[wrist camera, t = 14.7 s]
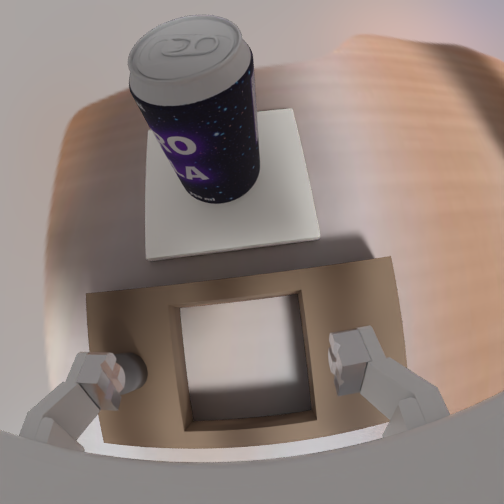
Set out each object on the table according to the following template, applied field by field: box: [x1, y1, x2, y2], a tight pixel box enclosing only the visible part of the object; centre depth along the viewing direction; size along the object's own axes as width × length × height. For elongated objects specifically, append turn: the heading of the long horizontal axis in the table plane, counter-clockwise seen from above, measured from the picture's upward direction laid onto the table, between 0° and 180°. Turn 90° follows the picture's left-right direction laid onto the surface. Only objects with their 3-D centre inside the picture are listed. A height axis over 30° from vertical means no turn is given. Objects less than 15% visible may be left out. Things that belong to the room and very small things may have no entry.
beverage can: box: [128, 15, 260, 204], centre depth 16 cm, size 6×6×12 cm
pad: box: [145, 108, 320, 261], centre depth 22 cm, size 12×11×1 cm
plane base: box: [86, 256, 407, 449], centre depth 17 cm, size 20×10×4 cm, turn 97°
